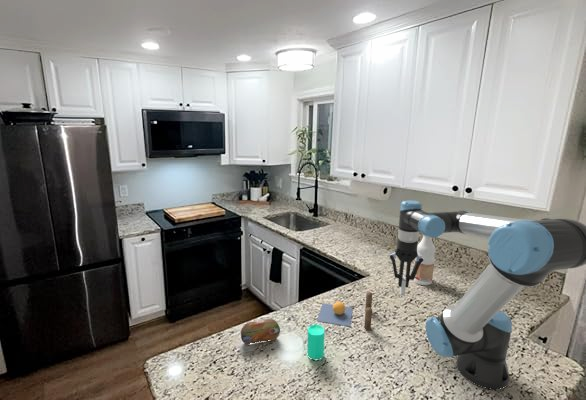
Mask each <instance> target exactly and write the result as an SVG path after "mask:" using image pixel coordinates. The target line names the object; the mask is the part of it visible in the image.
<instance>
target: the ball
mask: <svg viewBox="0 0 586 400" xmlns="http://www.w3.org/2000/svg"><path fill="white" fill-rule="evenodd" d="M332 305H333V311H334V313H335V314H337V315H341V314H343V313H344V312H345V307H346V306H345V304H344V303H343V302H341V301H336V302H335V303H333V304H332Z"/></svg>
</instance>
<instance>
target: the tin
mask: <svg viewBox="0 0 586 400" xmlns="http://www.w3.org/2000/svg"><path fill="white" fill-rule="evenodd" d="M280 333H281V328H280V325H279V323H278V322H277V320H275V319H274V318H273V319H272V318H266V319H261V320H254V321H249V322H247V323H245V324H244V325H242V327H241V330H240V339H241V341H242V342H243V344H245V345H247V346H249V345H248V344H250V343H255V342H259V341H260V342H261V341H268V340H273V341H275V340H276V339H278V337H279V336H280Z"/></svg>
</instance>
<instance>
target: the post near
mask: <svg viewBox="0 0 586 400" xmlns="http://www.w3.org/2000/svg"><path fill="white" fill-rule="evenodd" d="M364 310H365V309H364ZM364 312H365V313H364V326H363V327H364V328H365V329H366V331H371V330H370V329H372V318H373V317H372V316H373V308H372V307H371V308H370V307H366V310H365V311H364ZM364 328H363V329H364ZM365 329H364V330H365Z"/></svg>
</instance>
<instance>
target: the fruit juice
mask: <svg viewBox="0 0 586 400" xmlns="http://www.w3.org/2000/svg"><path fill="white" fill-rule="evenodd" d="M417 253H418V255H419V256H422V258H423V262H422V263H421V264H420V266H419V268H418V271H417V273H416V276H415V278H414V280H413V282H414V283H416V284H418V285H421V286H430V285H432V282H433V279H434V278H433V276H434V267H435V260H436V259H435V258H436V257H435V253H436V246H435V244H434V242H433V238H432V237H429V236H426V235H424V234H422V239H421V241H420V242H419V243H418V245H417ZM416 258H417V257H416ZM416 258H415V259H414V260H415V261H414V263H415V262H416Z"/></svg>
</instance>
